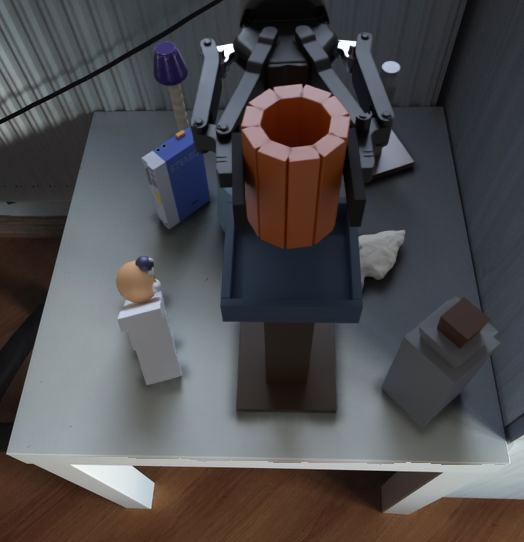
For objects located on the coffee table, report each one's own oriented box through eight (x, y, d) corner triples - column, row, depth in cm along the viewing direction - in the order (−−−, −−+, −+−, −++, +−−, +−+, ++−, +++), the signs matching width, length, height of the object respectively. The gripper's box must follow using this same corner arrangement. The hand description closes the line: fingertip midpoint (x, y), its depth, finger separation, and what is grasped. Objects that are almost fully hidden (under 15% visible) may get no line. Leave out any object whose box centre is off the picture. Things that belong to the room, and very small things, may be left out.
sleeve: (272, 167, 46) (271, 72, 38) (351, 198, 45) (368, 105, 37) (231, 227, 44) (221, 137, 36) (313, 262, 42) (323, 176, 34)
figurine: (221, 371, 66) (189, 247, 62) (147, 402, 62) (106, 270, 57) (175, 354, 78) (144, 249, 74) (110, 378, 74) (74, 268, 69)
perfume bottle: (381, 387, 68) (413, 314, 52) (419, 355, 70) (462, 274, 54) (422, 427, 66) (469, 364, 50) (460, 393, 68) (518, 321, 51)
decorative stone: (317, 261, 78) (317, 250, 75) (384, 214, 79) (386, 202, 76) (355, 303, 75) (356, 294, 72) (423, 254, 76) (427, 243, 73)
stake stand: (385, 127, 88) (405, 37, 74) (413, 166, 84) (439, 79, 70) (333, 143, 86) (344, 54, 73) (359, 184, 83) (375, 98, 69)
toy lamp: (188, 161, 85) (170, 63, 70) (164, 150, 86) (140, 51, 71) (206, 141, 87) (191, 41, 72) (182, 130, 88) (162, 30, 73)
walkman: (198, 189, 83) (186, 125, 72) (210, 200, 82) (200, 136, 71) (156, 218, 80) (138, 156, 70) (168, 229, 80) (152, 168, 69)
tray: (333, 325, 72) (358, 194, 50) (336, 413, 67) (365, 310, 45) (240, 324, 72) (225, 194, 50) (236, 411, 67) (217, 308, 45)
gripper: (392, 40, 51) (434, 244, 41) (171, 49, 51) (159, 255, 41) (409, -49, 44) (466, 169, 34) (155, -38, 44) (135, 182, 34)
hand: (298, 216), depth 37 cm, fingers closed on sleeve, 7 cm apart
